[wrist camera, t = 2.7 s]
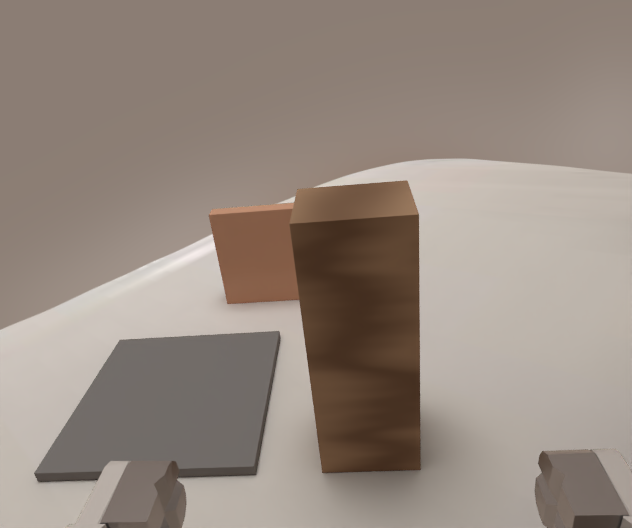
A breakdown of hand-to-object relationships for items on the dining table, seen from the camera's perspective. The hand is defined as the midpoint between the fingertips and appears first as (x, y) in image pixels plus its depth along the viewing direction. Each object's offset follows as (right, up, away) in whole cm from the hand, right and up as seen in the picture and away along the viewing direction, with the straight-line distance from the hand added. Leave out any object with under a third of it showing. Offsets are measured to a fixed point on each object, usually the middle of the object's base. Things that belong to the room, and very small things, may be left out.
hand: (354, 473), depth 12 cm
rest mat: (-10, -4, +21) cm, 23 cm away
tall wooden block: (+2, -5, +17) cm, 17 cm away
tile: (-3, +2, +31) cm, 31 cm away
